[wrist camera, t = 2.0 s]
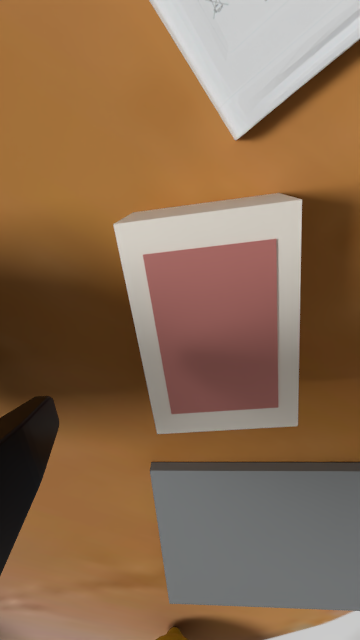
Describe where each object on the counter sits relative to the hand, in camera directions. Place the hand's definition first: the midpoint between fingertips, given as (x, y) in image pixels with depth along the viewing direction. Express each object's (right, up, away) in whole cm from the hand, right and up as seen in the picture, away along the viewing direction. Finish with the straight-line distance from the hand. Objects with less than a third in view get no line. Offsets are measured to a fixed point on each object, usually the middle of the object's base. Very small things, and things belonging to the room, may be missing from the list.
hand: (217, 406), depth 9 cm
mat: (+7, -12, +13) cm, 19 cm away
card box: (+1, +3, +7) cm, 8 cm away
